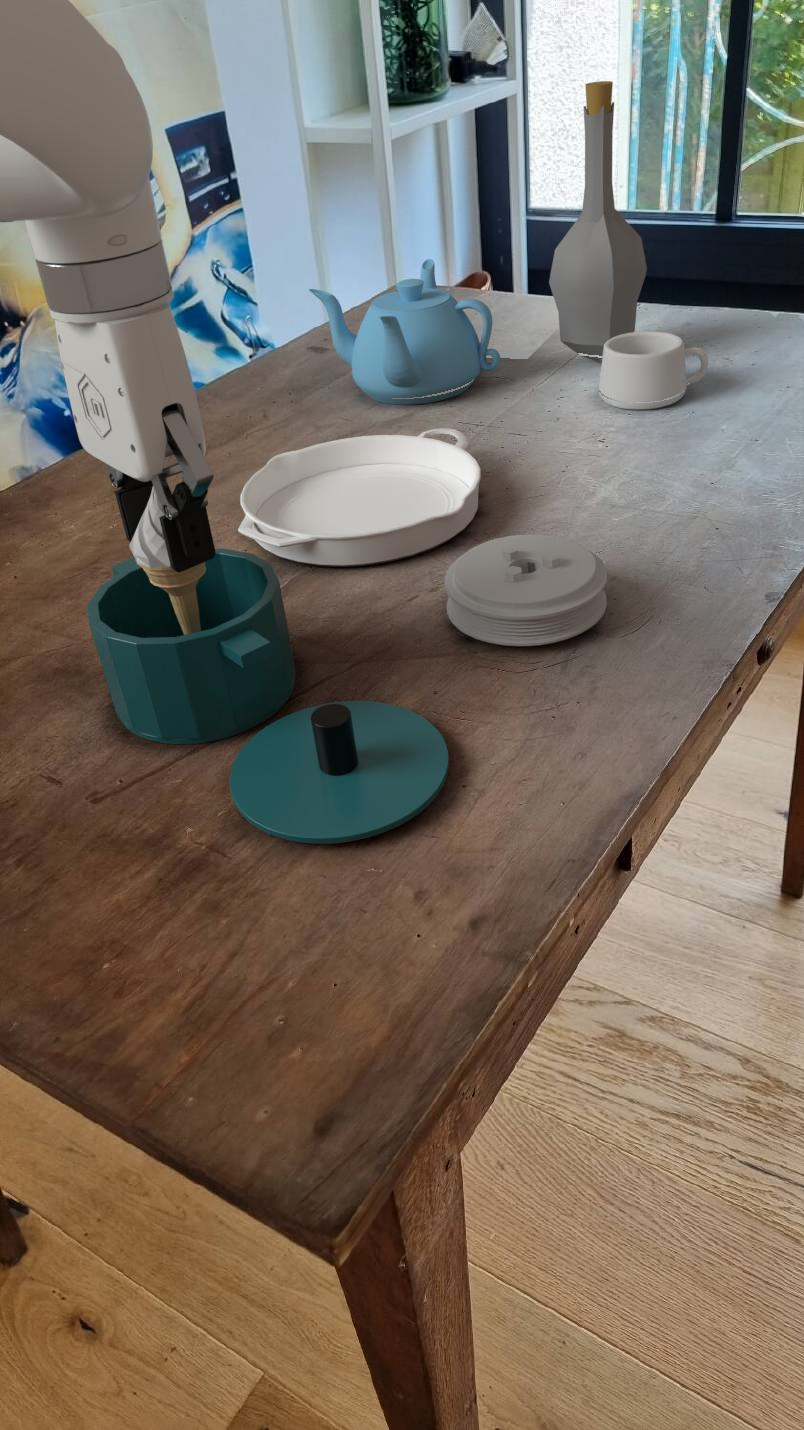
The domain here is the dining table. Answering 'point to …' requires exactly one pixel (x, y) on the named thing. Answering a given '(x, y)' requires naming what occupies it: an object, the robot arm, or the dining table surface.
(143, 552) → the ice cream cone
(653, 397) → the mug
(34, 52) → the robot arm
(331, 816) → the pot lid
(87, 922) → the dining table surface
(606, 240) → the bottle
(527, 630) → the lid
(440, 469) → the pan
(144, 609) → the pot
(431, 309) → the teapot
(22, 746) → the dining table surface
